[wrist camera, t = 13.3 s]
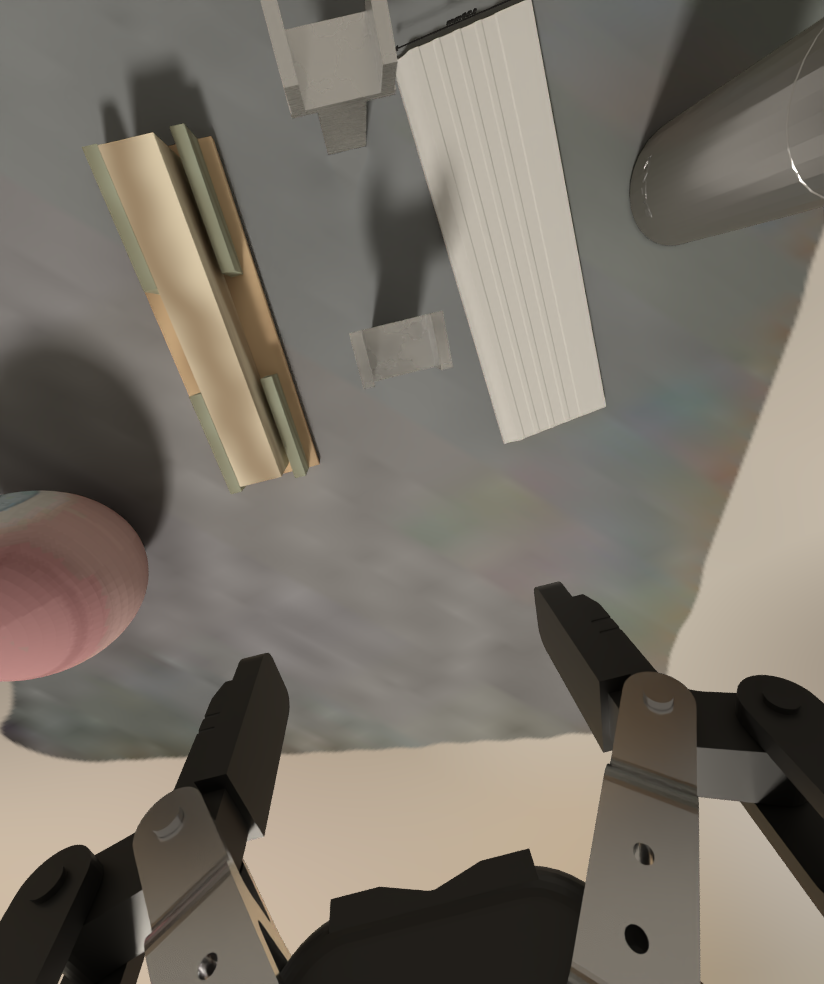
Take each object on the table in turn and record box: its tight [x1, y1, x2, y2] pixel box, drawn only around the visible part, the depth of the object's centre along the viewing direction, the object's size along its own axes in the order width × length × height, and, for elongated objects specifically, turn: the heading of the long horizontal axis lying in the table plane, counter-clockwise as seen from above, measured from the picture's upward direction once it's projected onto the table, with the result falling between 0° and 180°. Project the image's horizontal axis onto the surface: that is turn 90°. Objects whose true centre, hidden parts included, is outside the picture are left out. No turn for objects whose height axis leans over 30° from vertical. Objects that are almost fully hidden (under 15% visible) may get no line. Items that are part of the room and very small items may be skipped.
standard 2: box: [349, 311, 453, 389], centre depth 32 cm, size 6×4×11 cm, turn 102°
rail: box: [97, 132, 289, 487], centre depth 33 cm, size 4×24×5 cm, turn 13°
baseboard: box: [395, 0, 606, 444], centre depth 35 cm, size 31×3×12 cm
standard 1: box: [260, 0, 398, 155], centre depth 26 cm, size 6×4×11 cm, turn 102°
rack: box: [82, 123, 320, 494], centre depth 34 cm, size 9×26×3 cm, turn 12°
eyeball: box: [0, 490, 149, 681], centre depth 34 cm, size 15×15×15 cm
